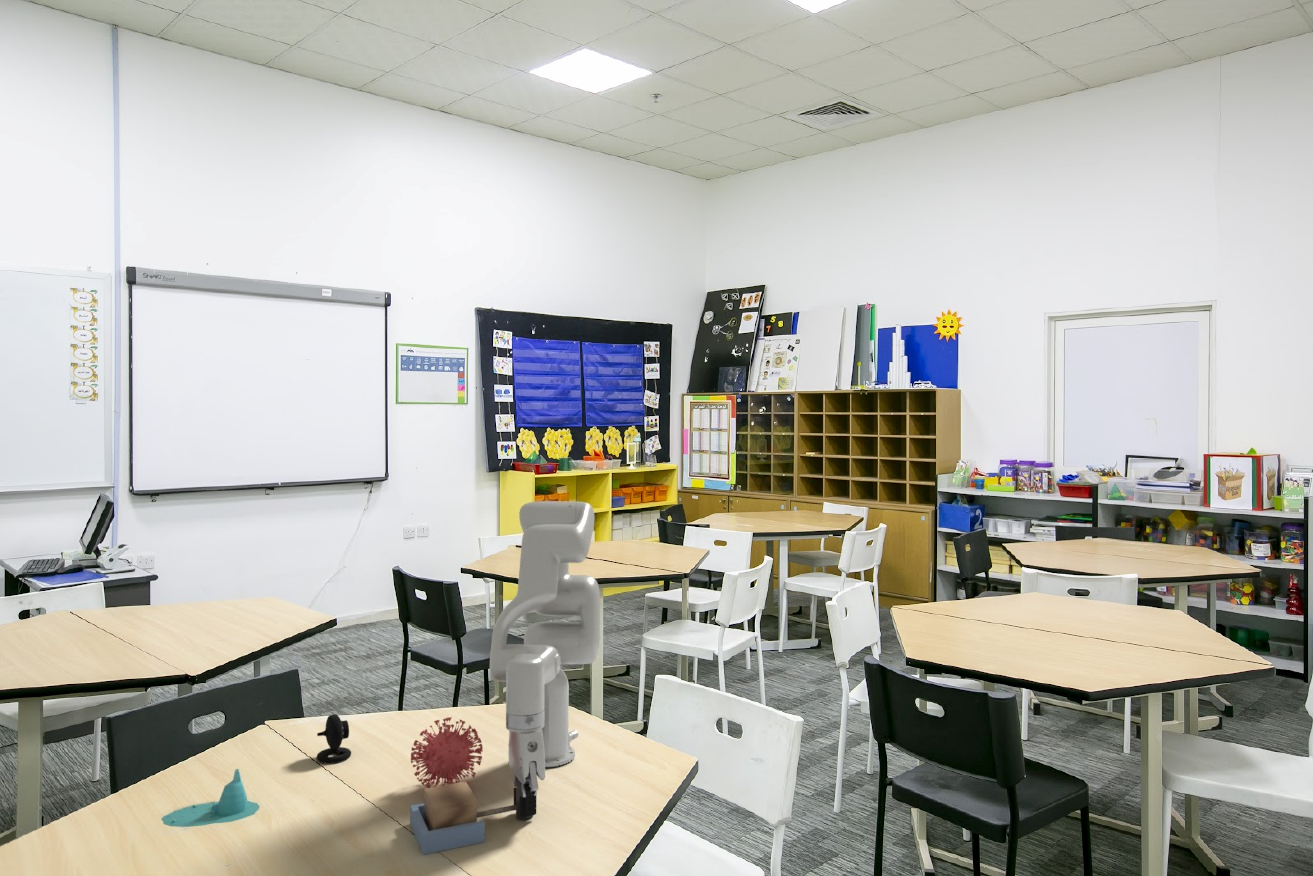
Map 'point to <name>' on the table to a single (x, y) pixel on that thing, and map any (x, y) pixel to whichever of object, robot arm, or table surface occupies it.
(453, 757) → the virus model
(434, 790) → the tether block
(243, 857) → the table surface
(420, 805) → the blue-grey u-shaped piece
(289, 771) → the table surface
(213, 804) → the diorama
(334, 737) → the webcam
